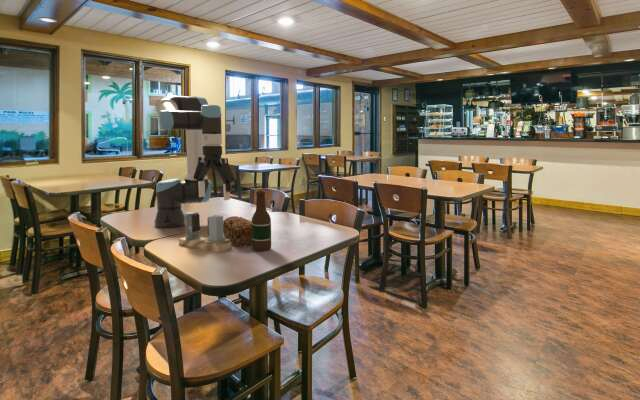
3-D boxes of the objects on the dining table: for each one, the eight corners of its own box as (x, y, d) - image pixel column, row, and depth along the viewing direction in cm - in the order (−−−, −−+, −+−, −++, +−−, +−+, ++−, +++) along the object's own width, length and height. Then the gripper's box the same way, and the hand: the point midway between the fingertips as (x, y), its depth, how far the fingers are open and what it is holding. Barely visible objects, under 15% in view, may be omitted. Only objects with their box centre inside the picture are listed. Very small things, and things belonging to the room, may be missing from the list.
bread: (222, 238, 181) (221, 216, 180) (245, 235, 187) (244, 214, 185) (236, 248, 165) (235, 224, 164) (260, 244, 171) (259, 221, 169)
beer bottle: (261, 245, 169) (260, 189, 165) (275, 248, 164) (274, 190, 160) (248, 249, 162) (246, 191, 158) (262, 253, 158) (261, 193, 154)
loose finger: (223, 242, 164) (222, 216, 162) (216, 244, 160) (215, 217, 159) (215, 240, 166) (214, 214, 164) (208, 243, 163) (207, 216, 161)
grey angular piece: (178, 244, 170) (177, 213, 168) (191, 240, 176) (190, 210, 173) (219, 252, 158) (217, 219, 156) (231, 248, 164) (230, 216, 162)
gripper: (182, 144, 161) (185, 196, 164) (229, 146, 148) (231, 202, 152) (197, 144, 167) (199, 194, 171) (243, 145, 155) (244, 199, 158)
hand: (214, 198), depth 161 cm, fingers open, 13 cm apart
